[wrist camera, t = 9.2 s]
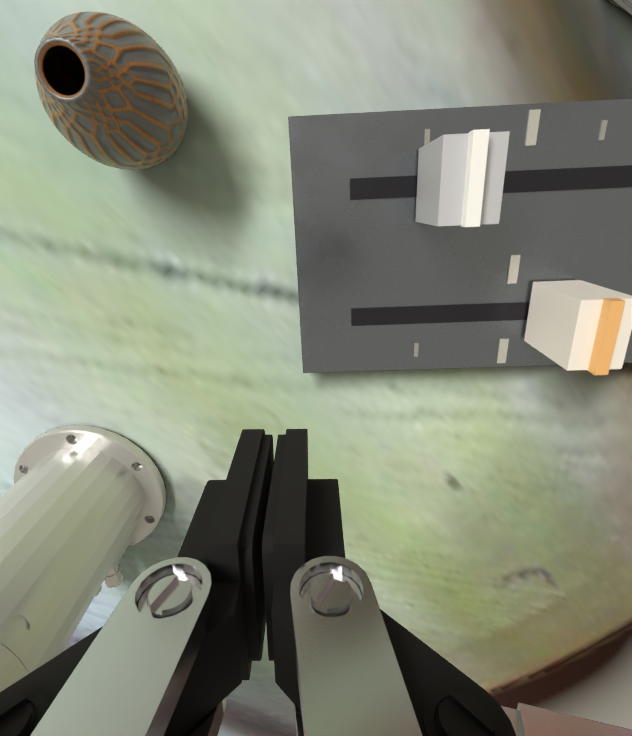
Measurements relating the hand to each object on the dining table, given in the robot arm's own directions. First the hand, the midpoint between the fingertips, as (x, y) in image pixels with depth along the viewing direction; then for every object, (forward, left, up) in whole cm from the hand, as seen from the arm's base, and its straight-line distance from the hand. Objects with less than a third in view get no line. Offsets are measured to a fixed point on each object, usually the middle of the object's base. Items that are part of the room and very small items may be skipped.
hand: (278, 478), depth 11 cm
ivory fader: (-1, -16, -18) cm, 24 cm away
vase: (+12, +10, -21) cm, 26 cm away
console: (+3, -11, -21) cm, 24 cm away
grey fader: (+7, -8, -18) cm, 21 cm away
